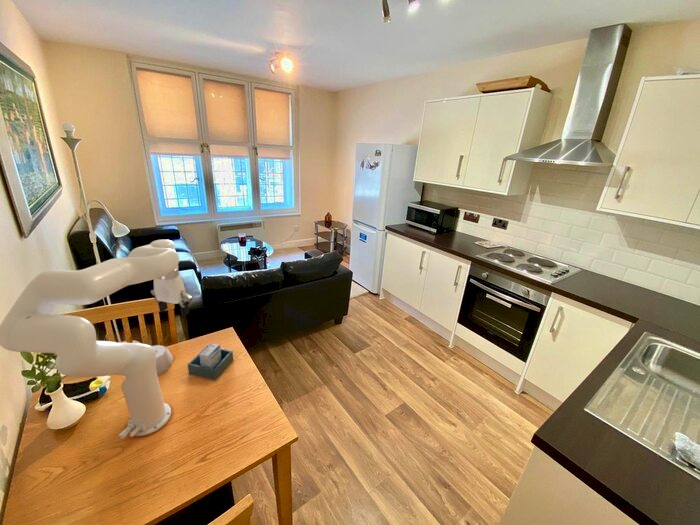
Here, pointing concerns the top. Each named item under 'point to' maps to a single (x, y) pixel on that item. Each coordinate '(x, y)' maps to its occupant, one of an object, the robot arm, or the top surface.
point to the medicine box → (211, 356)
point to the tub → (210, 373)
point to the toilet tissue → (162, 359)
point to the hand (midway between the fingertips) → (174, 312)
